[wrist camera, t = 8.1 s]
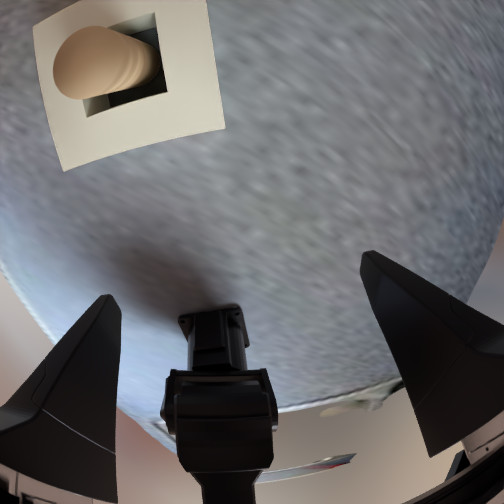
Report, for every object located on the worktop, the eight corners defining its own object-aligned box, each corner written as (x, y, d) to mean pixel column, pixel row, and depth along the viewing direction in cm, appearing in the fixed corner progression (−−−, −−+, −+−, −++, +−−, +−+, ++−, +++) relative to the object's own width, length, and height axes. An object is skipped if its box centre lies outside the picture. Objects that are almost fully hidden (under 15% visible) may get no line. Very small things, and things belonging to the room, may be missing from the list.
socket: (223, 117, 17) (225, 128, 14) (88, 152, 17) (63, 171, 13) (203, -16, 11) (200, -37, 8) (62, 30, 11) (32, 27, 8)
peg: (163, 80, 15) (127, 84, 8) (118, 93, 15) (60, 110, 8) (156, 37, 13) (116, 14, 6) (110, 51, 13) (48, 45, 6)
